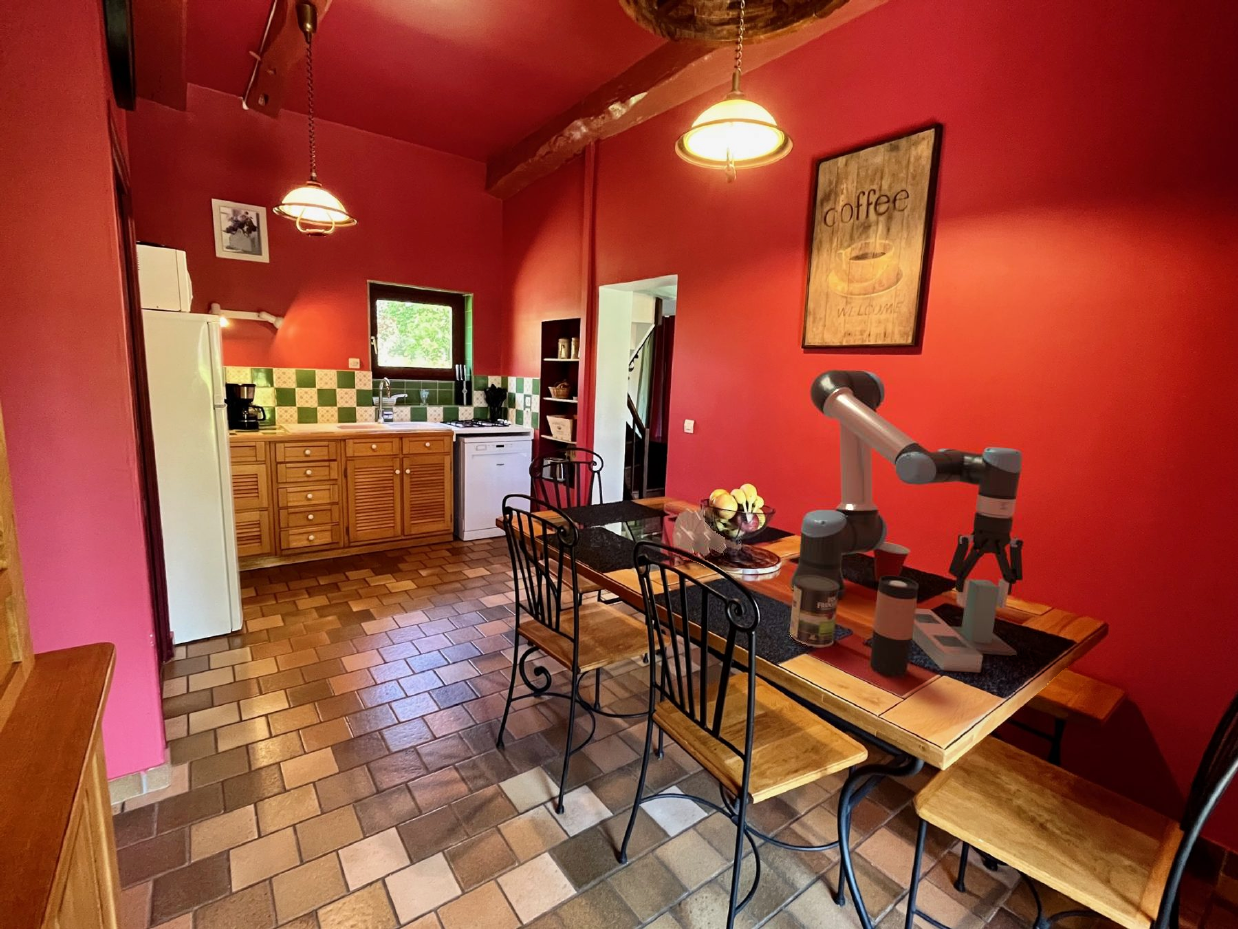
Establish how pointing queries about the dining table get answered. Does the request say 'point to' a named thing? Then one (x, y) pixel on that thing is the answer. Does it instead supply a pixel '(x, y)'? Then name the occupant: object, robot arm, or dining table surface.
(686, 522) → the spiral staircase
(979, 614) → the gray rectangular box
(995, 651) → the rubber mat
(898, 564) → the plastic cup
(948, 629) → the block with square holes
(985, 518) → the robot arm
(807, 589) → the coffee can
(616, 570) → the dining table surface
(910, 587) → the travel mug
